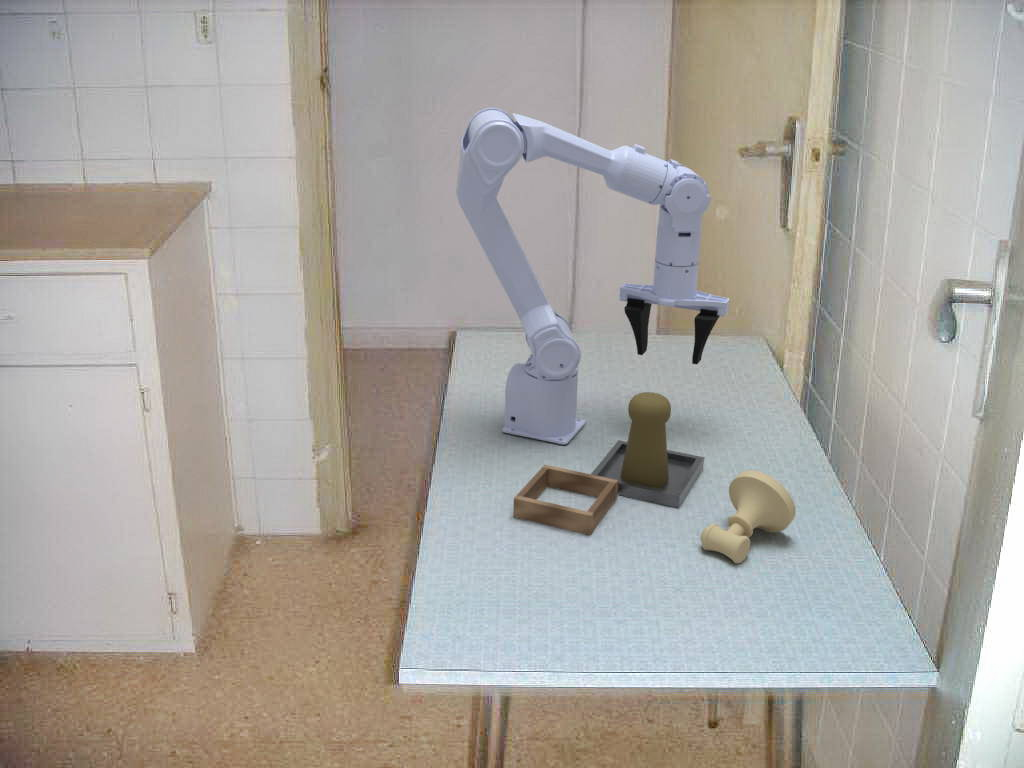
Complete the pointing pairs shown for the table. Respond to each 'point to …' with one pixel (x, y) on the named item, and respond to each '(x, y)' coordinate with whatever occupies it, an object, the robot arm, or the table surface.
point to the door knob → (750, 514)
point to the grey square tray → (671, 494)
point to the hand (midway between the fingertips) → (669, 357)
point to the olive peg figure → (647, 441)
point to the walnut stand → (563, 515)
